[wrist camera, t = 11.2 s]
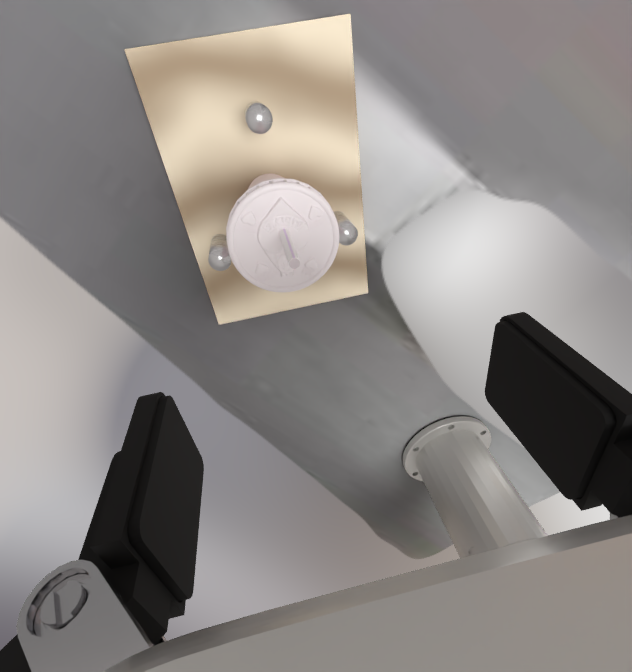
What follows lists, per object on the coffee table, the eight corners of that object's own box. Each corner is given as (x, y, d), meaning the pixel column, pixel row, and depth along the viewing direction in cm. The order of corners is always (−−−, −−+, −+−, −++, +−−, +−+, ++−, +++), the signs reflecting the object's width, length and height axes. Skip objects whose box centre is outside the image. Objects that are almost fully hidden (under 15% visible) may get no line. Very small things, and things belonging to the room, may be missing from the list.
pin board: (363, 285, 36) (380, 311, 32) (219, 316, 35) (217, 346, 31) (344, 17, 25) (366, 3, 21) (130, 51, 24) (108, 44, 20)
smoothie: (310, 150, 27) (365, 197, 16) (313, 236, 31) (360, 324, 19) (220, 156, 26) (211, 210, 15) (235, 243, 30) (235, 341, 19)
